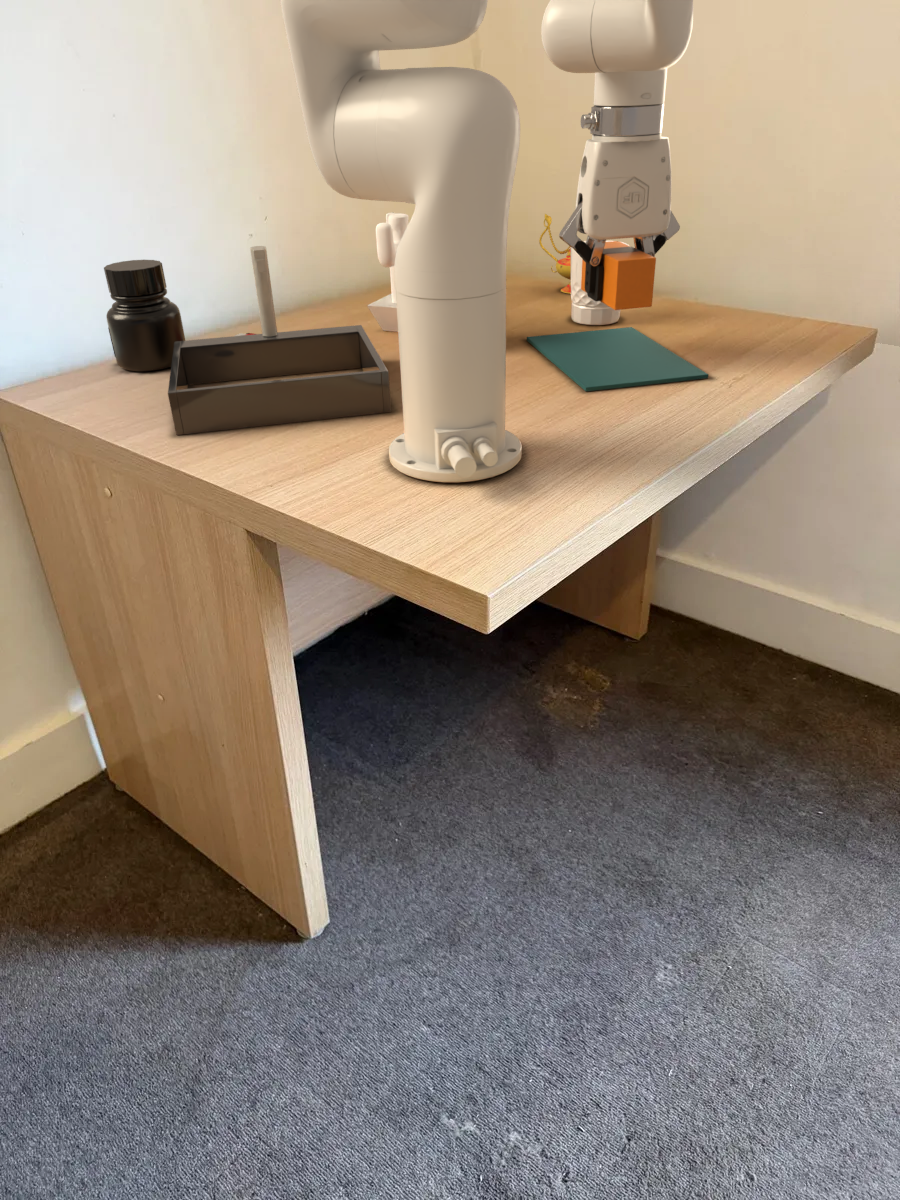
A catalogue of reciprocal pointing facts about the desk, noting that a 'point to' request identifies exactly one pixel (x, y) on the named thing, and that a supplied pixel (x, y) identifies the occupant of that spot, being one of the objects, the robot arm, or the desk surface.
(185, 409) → the sink basin
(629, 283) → the orange striped block
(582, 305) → the white cup
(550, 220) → the magic lamp
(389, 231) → the figurine
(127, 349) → the ink bottle
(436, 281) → the robot arm
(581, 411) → the desk surface
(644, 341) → the mat
